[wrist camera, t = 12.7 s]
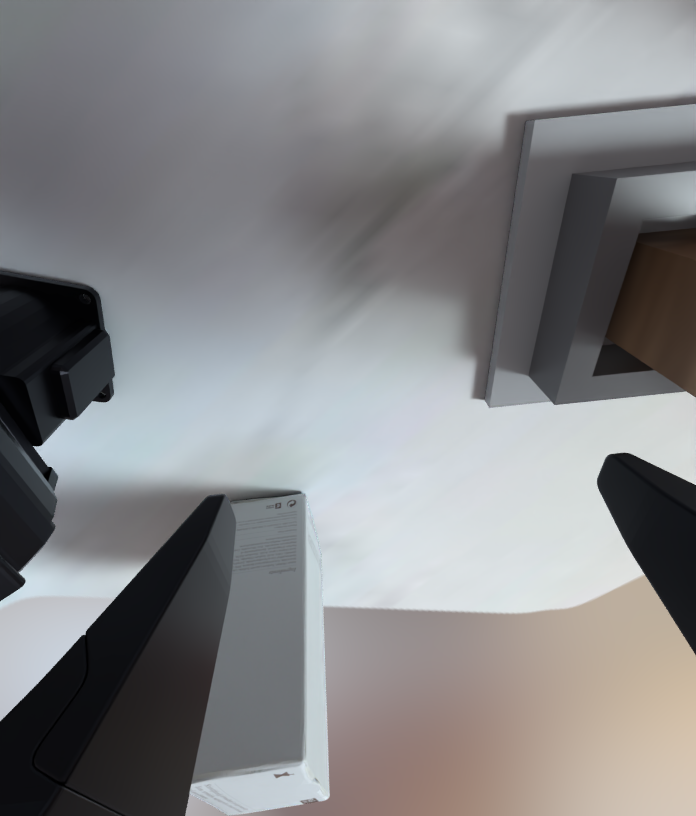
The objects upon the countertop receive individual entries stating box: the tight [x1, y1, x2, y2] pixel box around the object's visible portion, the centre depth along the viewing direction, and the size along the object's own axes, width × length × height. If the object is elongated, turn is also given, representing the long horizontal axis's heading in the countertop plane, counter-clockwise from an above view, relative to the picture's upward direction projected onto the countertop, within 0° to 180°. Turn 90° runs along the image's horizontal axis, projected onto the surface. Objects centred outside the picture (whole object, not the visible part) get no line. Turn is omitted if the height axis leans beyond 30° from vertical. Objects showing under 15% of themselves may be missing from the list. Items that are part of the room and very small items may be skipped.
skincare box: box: [189, 494, 330, 815], centre depth 24 cm, size 8×6×15 cm
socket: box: [485, 104, 696, 408], centre depth 18 cm, size 14×14×4 cm
